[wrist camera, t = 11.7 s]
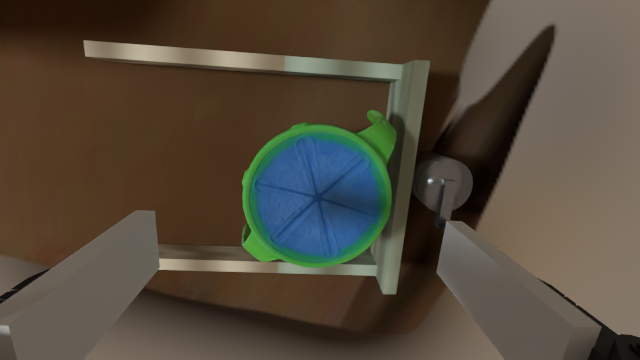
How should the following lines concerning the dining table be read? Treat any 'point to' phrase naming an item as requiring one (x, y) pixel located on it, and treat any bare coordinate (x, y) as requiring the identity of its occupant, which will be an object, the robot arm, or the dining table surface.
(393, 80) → the bay
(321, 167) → the snack cup
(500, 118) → the dining table surface
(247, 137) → the dining table surface
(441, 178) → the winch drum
